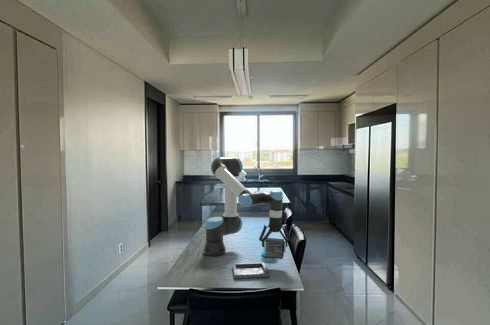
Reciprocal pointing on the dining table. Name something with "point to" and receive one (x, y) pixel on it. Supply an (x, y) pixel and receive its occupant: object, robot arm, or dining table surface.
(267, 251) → the small box
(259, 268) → the tray
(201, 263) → the dining table surface
